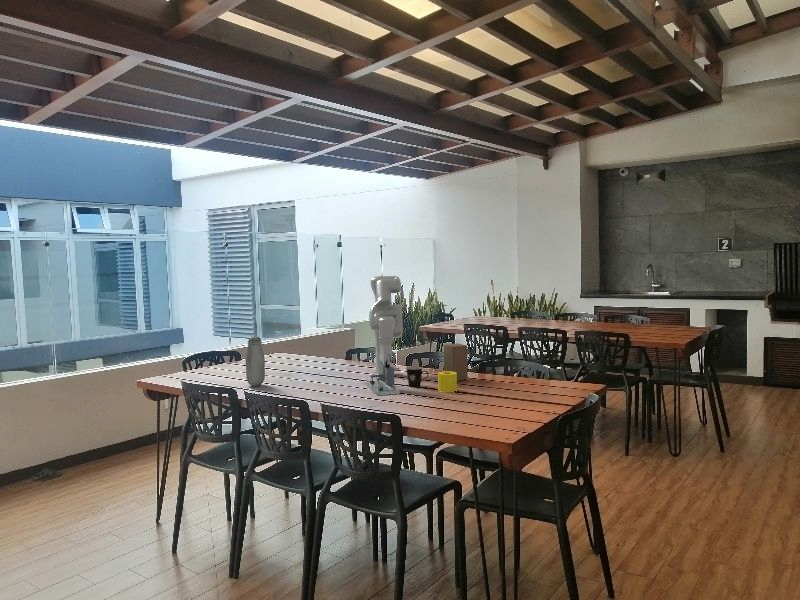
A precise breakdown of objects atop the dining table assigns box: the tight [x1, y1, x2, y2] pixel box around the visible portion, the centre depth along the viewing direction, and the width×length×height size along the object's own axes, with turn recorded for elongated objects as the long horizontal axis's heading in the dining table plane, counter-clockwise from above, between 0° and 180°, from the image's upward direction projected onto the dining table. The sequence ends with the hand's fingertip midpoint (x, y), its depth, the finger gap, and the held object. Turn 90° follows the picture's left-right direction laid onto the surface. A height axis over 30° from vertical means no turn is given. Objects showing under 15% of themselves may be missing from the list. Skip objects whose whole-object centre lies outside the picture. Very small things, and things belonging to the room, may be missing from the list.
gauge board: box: [363, 374, 400, 397], centre depth 329 cm, size 12×30×6 cm, turn 16°
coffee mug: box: [406, 366, 429, 388], centre depth 333 cm, size 12×9×10 cm
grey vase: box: [245, 335, 266, 387], centre depth 343 cm, size 10×10×28 cm
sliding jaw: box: [375, 366, 395, 386], centre depth 323 cm, size 9×5×9 cm, turn 106°
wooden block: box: [443, 343, 469, 381], centre depth 350 cm, size 10×10×20 cm
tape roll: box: [437, 370, 458, 393], centre depth 321 cm, size 10×10×9 cm
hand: (386, 374), depth 329 cm, fingers closed
